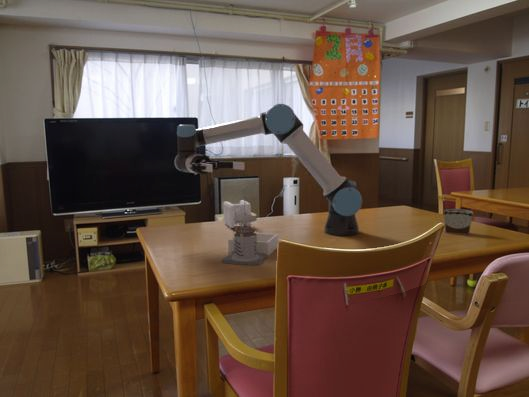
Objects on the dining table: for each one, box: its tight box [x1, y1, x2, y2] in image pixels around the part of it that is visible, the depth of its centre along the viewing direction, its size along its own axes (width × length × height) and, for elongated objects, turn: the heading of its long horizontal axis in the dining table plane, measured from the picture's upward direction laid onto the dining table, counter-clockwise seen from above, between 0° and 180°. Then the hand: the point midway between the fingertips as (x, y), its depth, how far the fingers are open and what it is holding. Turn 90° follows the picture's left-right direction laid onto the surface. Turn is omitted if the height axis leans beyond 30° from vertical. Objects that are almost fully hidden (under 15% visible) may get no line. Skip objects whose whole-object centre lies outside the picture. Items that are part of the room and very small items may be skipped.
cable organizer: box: [222, 199, 252, 229], centre depth 204 cm, size 15×11×12 cm
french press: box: [232, 185, 260, 261], centre depth 147 cm, size 10×12×25 cm
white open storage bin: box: [227, 232, 279, 257], centre depth 161 cm, size 15×13×5 cm
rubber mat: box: [220, 251, 268, 267], centre depth 149 cm, size 13×11×1 cm
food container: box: [442, 208, 475, 236], centre depth 187 cm, size 12×6×10 cm, turn 65°
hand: (228, 167), depth 152 cm, fingers open, 13 cm apart
